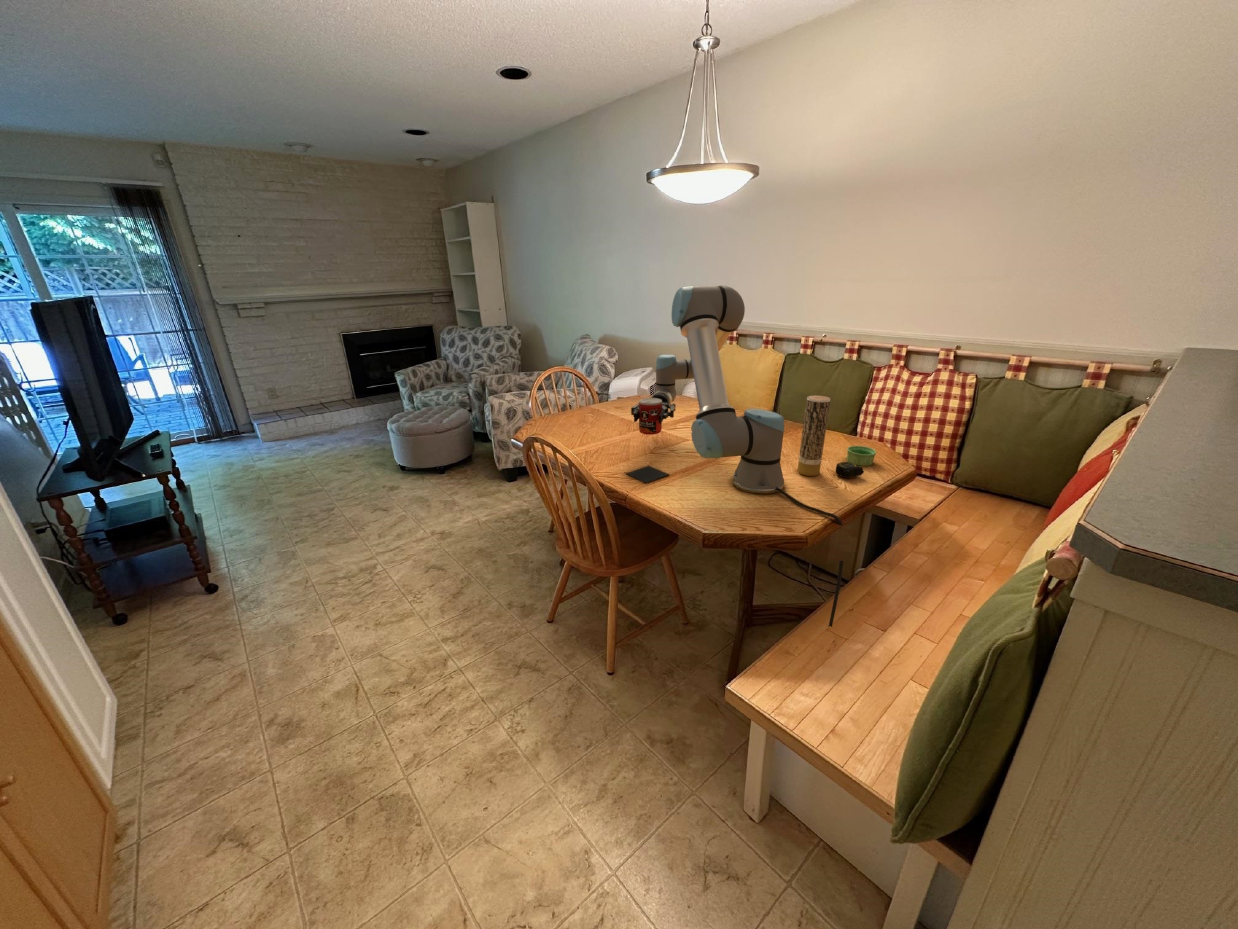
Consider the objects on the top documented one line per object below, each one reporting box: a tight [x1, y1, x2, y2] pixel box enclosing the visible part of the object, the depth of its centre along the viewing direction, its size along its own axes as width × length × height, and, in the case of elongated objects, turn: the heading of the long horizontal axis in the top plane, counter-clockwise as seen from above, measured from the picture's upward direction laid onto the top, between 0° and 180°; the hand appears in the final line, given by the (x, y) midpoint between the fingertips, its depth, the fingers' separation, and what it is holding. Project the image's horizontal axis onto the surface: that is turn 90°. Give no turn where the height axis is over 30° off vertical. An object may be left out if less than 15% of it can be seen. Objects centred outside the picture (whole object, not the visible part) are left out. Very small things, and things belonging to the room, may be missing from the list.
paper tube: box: [797, 395, 831, 477], centre depth 152 cm, size 7×7×25 cm
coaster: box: [625, 465, 670, 484], centre depth 157 cm, size 10×10×1 cm
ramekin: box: [846, 445, 877, 467], centre depth 164 cm, size 9×9×4 cm
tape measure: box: [835, 461, 865, 479], centre depth 153 cm, size 7×7×4 cm
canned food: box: [638, 397, 663, 436], centre depth 164 cm, size 8×8×11 cm
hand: (647, 418), depth 159 cm, fingers closed on canned food, 8 cm apart
